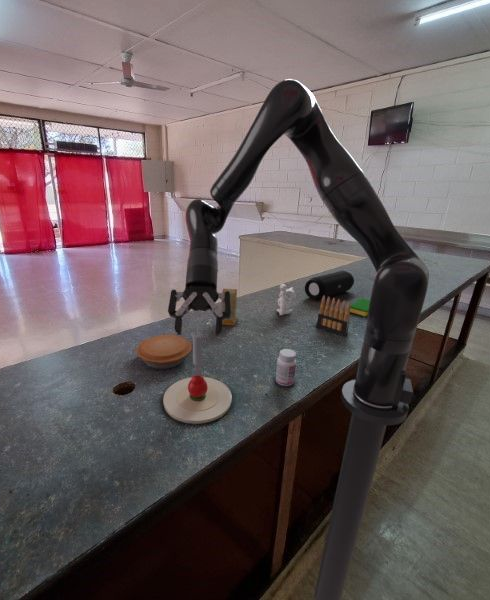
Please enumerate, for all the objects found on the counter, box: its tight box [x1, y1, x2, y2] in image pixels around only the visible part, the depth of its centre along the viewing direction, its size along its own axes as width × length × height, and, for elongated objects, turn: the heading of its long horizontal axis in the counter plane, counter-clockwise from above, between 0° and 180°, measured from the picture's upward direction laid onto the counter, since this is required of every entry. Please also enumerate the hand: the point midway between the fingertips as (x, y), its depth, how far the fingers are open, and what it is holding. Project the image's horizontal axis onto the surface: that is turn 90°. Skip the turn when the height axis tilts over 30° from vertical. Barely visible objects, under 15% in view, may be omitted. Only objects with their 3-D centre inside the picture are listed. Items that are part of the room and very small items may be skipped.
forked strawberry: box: [188, 332, 208, 401], centre depth 71 cm, size 5×5×16 cm
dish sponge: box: [350, 297, 370, 317], centre depth 129 cm, size 7×14×2 cm, turn 137°
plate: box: [162, 376, 233, 425], centre depth 74 cm, size 16×16×1 cm
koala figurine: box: [276, 283, 297, 316], centre depth 123 cm, size 8×7×12 cm
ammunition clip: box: [315, 295, 351, 336], centre depth 109 cm, size 11×2×12 cm, turn 49°
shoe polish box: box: [221, 288, 238, 327], centre depth 113 cm, size 5×5×12 cm
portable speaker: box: [304, 270, 355, 301], centre depth 144 cm, size 26×10×10 cm, turn 127°
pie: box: [136, 334, 193, 370], centre depth 90 cm, size 15×16×5 cm
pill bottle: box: [275, 348, 297, 387], centre depth 80 cm, size 5×5×8 cm
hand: (198, 334), depth 70 cm, fingers open, 8 cm apart
